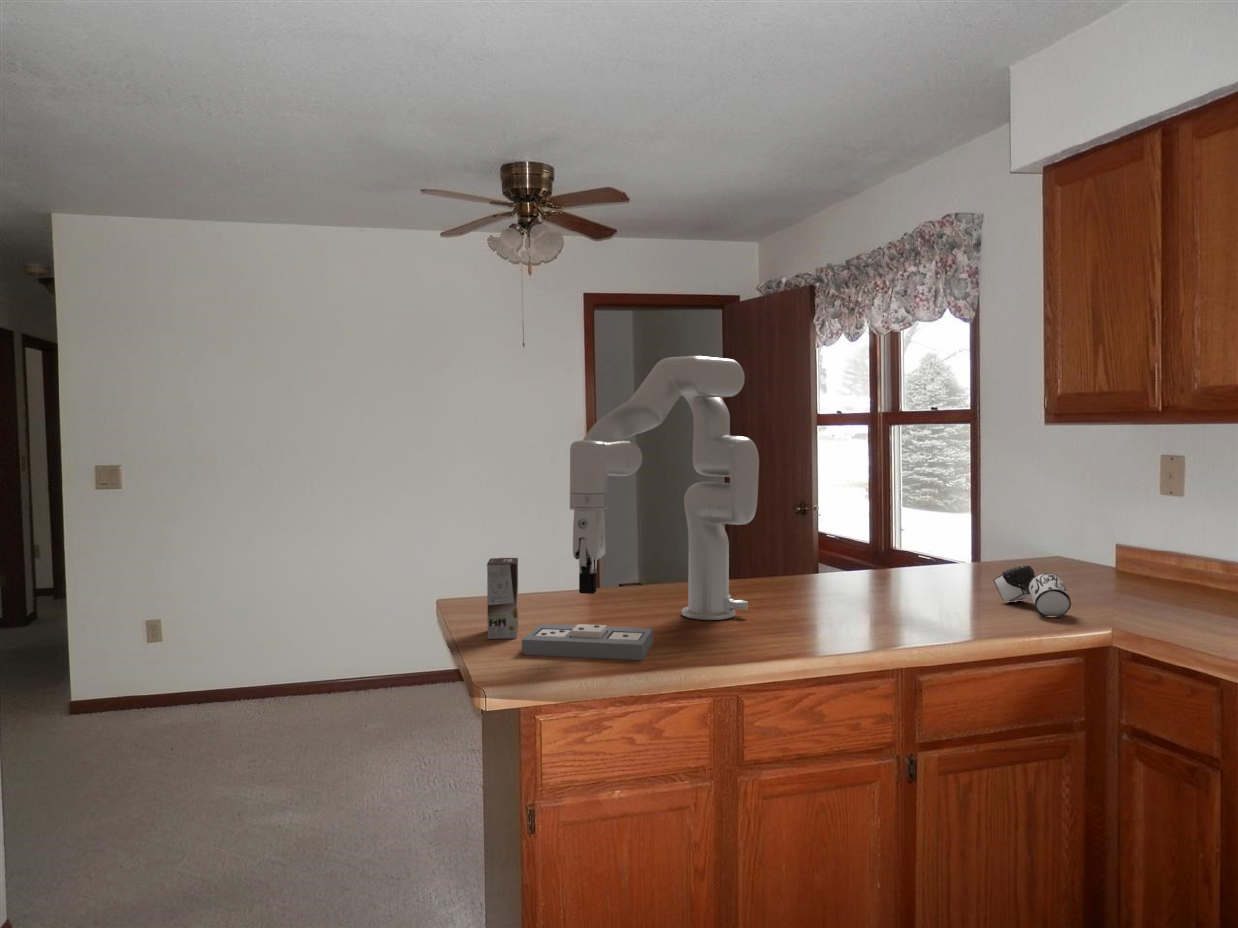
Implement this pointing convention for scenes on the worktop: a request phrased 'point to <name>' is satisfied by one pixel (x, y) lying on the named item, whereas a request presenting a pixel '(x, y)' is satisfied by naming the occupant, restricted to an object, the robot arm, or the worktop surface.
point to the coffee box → (502, 598)
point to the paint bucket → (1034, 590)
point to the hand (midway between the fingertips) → (587, 592)
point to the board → (588, 644)
